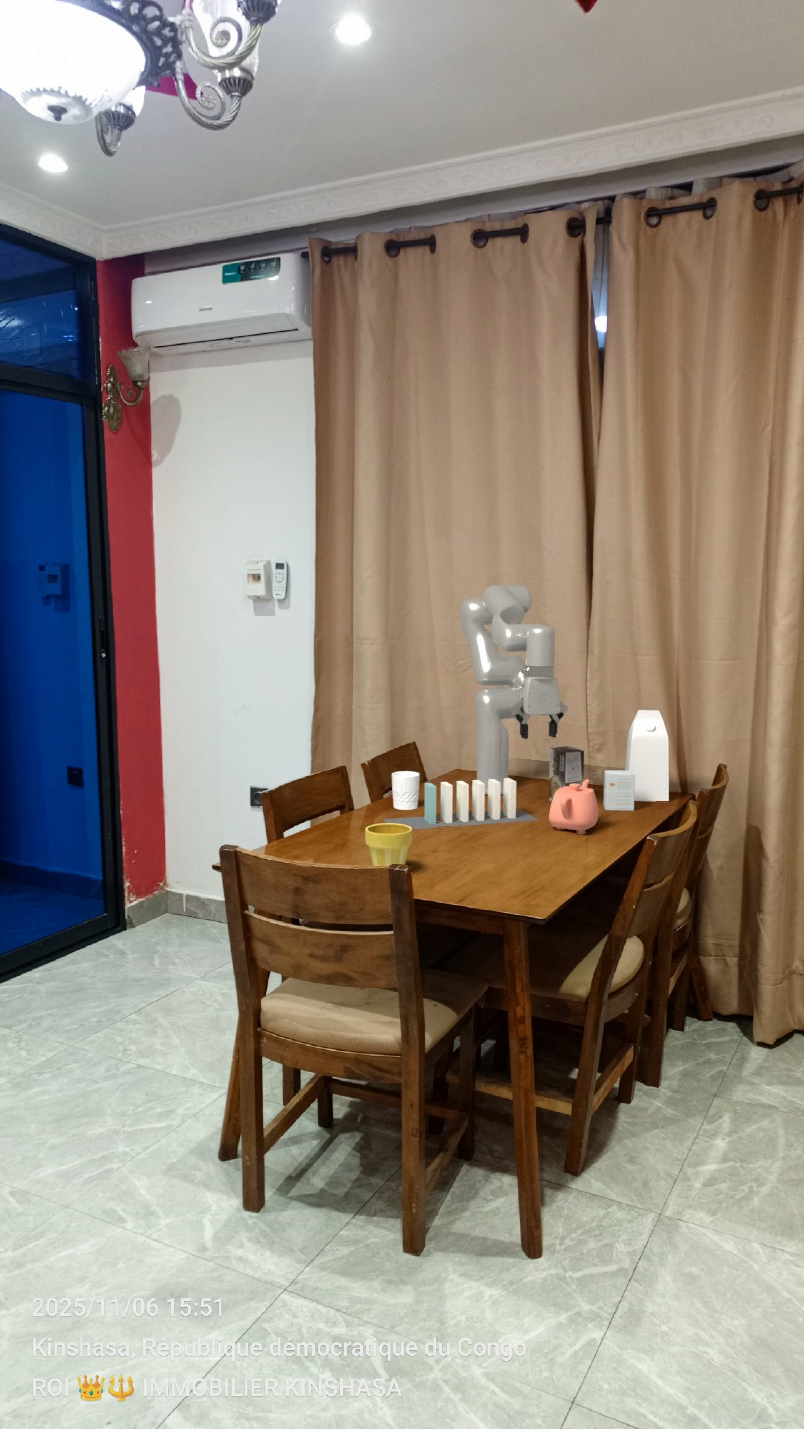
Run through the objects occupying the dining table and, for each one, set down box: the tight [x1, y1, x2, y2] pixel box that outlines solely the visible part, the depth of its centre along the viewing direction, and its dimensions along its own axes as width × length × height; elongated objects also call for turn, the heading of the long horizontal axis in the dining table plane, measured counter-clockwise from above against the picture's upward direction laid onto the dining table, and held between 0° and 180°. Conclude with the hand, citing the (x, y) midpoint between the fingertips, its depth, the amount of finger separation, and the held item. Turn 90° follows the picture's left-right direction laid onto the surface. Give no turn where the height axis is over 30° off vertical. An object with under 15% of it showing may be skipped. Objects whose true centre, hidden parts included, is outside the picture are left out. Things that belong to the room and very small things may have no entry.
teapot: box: [548, 778, 599, 835], centre depth 249 cm, size 20×12×12 cm, turn 152°
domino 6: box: [502, 777, 517, 819], centre depth 260 cm, size 5×2×10 cm, turn 16°
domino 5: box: [487, 779, 501, 820], centre depth 258 cm, size 5×2×10 cm, turn 16°
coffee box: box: [548, 746, 585, 802], centre depth 276 cm, size 9×6×16 cm
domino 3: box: [455, 780, 470, 822], centre depth 256 cm, size 5×2×10 cm, turn 16°
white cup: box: [391, 770, 421, 811], centre depth 270 cm, size 8×8×10 cm
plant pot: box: [364, 822, 413, 867], centre depth 212 cm, size 10×10×10 cm
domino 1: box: [424, 782, 437, 824], centre depth 253 cm, size 5×2×10 cm, turn 16°
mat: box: [382, 809, 539, 830], centre depth 256 cm, size 12×40×1 cm, turn 106°
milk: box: [624, 709, 670, 802], centre depth 284 cm, size 12×12×26 cm
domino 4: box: [471, 779, 486, 821], centre depth 257 cm, size 5×2×10 cm, turn 16°
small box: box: [603, 769, 635, 812], centre depth 271 cm, size 8×6×10 cm
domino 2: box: [440, 781, 454, 823], centre depth 255 cm, size 5×2×10 cm, turn 16°
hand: (538, 737), depth 259 cm, fingers open, 7 cm apart
